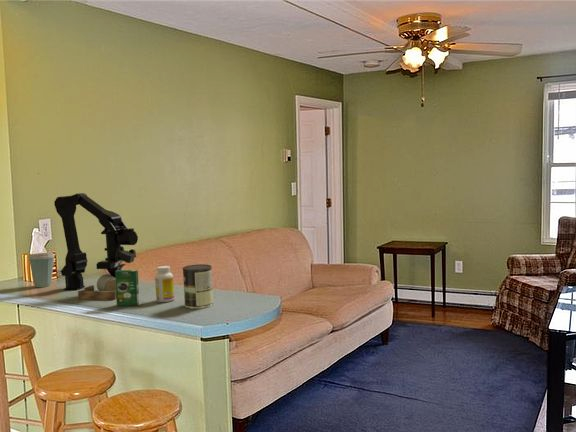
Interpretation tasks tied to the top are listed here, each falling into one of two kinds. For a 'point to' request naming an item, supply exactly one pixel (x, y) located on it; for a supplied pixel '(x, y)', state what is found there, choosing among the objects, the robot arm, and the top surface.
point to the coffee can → (198, 286)
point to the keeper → (96, 294)
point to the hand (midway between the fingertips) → (116, 282)
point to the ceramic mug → (106, 283)
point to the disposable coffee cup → (42, 268)
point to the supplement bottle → (164, 284)
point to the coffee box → (127, 287)
